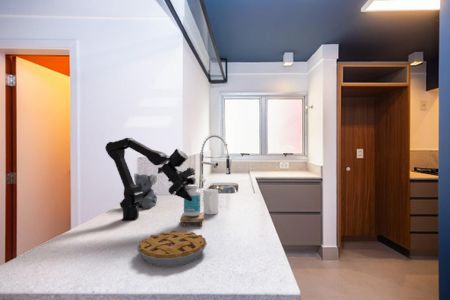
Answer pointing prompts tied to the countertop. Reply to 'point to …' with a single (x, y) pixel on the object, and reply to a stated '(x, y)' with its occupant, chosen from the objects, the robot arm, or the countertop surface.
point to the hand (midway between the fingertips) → (194, 198)
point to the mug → (210, 201)
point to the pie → (172, 248)
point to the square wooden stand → (192, 219)
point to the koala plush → (146, 189)
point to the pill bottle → (192, 206)
